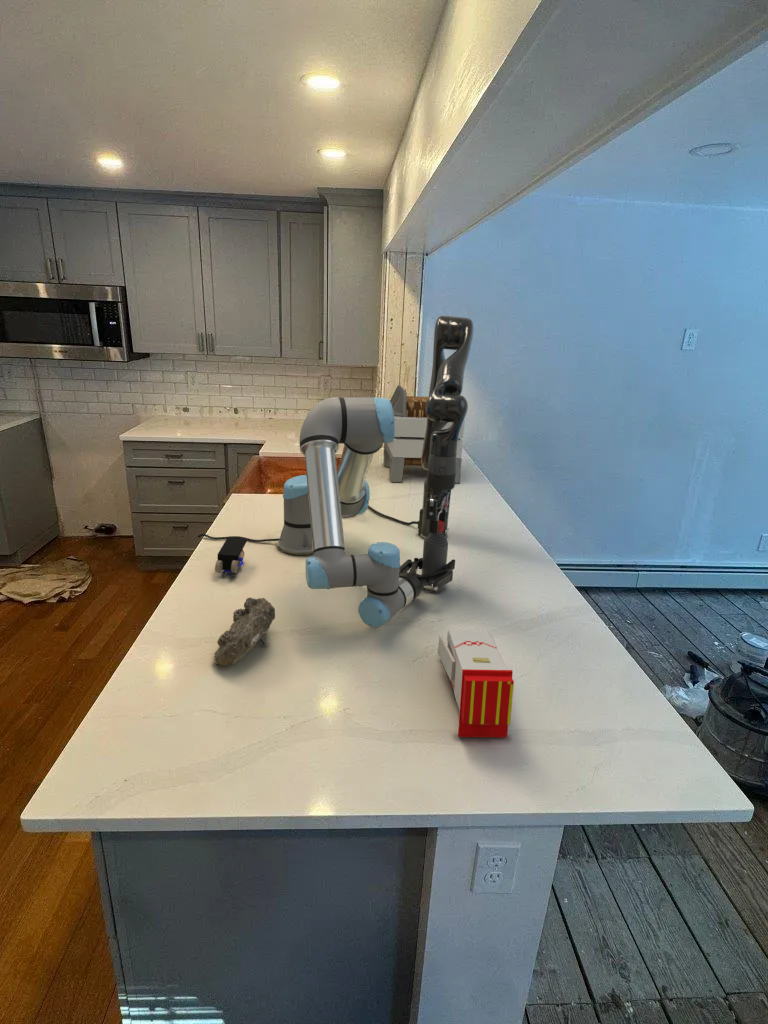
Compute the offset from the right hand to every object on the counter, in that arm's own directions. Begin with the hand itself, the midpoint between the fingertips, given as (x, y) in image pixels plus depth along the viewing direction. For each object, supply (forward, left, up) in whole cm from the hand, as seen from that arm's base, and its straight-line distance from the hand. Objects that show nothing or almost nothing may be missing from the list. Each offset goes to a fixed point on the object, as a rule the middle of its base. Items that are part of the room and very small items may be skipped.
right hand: (437, 528), depth 156 cm
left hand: (0, +5, -12) cm, 13 cm away
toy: (+30, -36, -18) cm, 50 cm away
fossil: (-19, -52, -18) cm, 58 cm away
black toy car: (-52, -29, -18) cm, 62 cm away
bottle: (0, 0, -18) cm, 18 cm away
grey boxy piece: (-67, +99, -18) cm, 121 cm away
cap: (0, 0, +1) cm, 1 cm away
